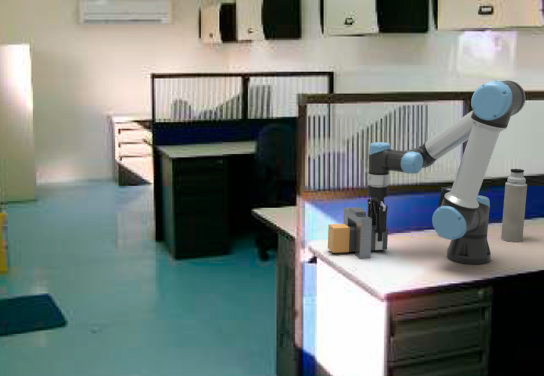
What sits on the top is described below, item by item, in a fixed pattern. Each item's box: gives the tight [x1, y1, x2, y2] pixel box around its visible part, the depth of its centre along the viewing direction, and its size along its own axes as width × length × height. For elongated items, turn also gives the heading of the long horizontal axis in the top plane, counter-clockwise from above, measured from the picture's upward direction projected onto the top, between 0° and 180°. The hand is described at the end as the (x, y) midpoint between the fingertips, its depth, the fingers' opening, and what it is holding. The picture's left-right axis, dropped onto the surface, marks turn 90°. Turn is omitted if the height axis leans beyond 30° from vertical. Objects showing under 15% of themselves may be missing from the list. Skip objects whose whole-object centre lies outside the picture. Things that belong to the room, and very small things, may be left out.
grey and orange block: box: [327, 223, 389, 254], centre depth 256 cm, size 21×6×9 cm, turn 104°
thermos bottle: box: [500, 168, 528, 243], centre depth 273 cm, size 8×8×28 cm
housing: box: [342, 206, 372, 260], centre depth 255 cm, size 18×4×16 cm, turn 14°
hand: (375, 247), depth 258 cm, fingers closed on grey and orange block, 5 cm apart
